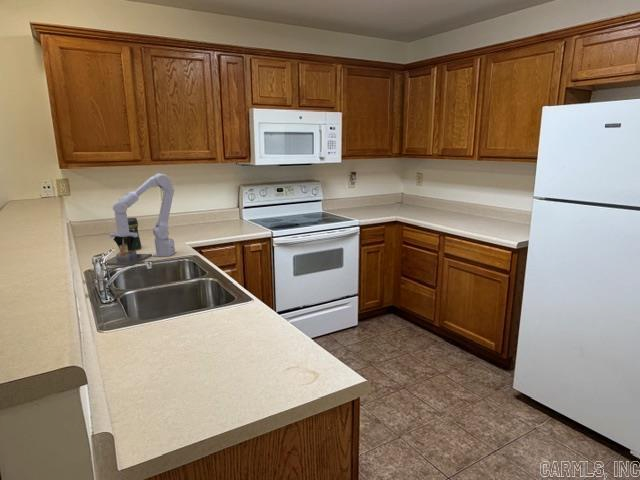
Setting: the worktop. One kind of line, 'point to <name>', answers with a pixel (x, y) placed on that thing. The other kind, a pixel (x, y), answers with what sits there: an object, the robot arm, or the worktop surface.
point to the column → (124, 249)
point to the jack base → (128, 259)
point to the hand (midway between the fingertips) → (125, 250)
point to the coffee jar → (133, 228)
